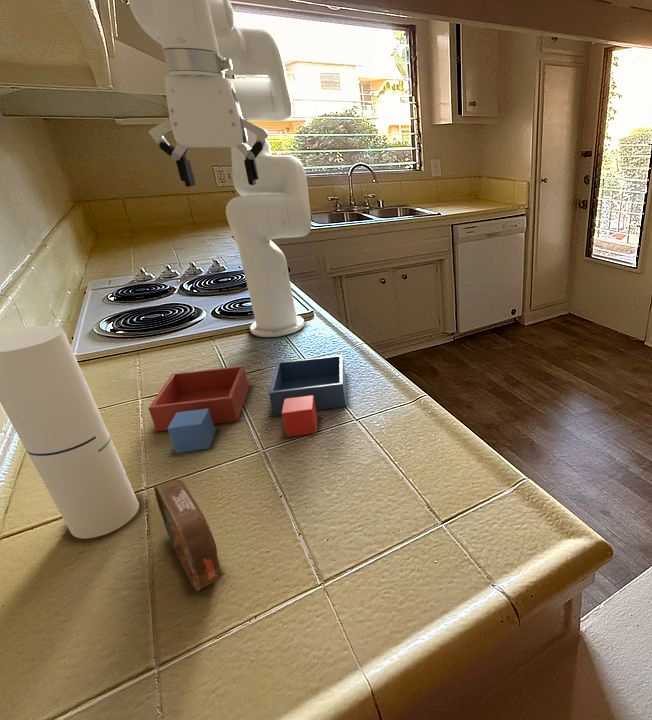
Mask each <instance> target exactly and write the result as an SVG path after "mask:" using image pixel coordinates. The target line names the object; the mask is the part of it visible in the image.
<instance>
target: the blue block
mask: <svg viewBox="0 0 652 720" xmlns="http://www.w3.org/2000/svg"><path fill="white" fill-rule="evenodd" d="M167 429H168V430H167V432H168V435H169V437H170V440H171V443H172V445H173V448H174V451H175V454H180V453H181V454H182V453H188V452H193V451H195V452H196V451H200V450H201V451H202V450H209V449H210V447H211V445H212V442H213V440H214V437H215V435H216V432H217V431H216V428H215V424H213V421H212V418H211V415H210V411H209V408H208V409H200V410H192V411H184V412H177V413H176V414H175V416H174V418H173V420H172V421H171V423H170V425H169V426H168V428H167Z"/></svg>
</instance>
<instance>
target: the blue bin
mask: <svg viewBox="0 0 652 720" xmlns="http://www.w3.org/2000/svg"><path fill="white" fill-rule="evenodd" d="M345 368H346V367H345V362H344V356H343V354H340V355H330V356H321V357H313V358H311V357H310V358H304V359H303V358H301V359H295V360H294V359H293V360H284V361H277V362H276V365H275V368H274V372H273V376H272V379H271V382H270V386H269V390H268V398H269V401H270V405H271V410H272V415H273V416H274V417H277V416H282V409H283V404H284V399H287V398H295V397H303V396H311V395H313V396H314V401H315V406H316V411H320V410H327V409H334V408H342V407H347V384H346V382H347V381H346V380H347V379H346V376H347V375H346V369H345Z"/></svg>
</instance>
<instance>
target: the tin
mask: <svg viewBox="0 0 652 720" xmlns="http://www.w3.org/2000/svg"><path fill="white" fill-rule="evenodd" d="M153 490H154V495H155V499H156V503H157V505H158V508H159V512H160V515H161V518H162V521H163V524H164V528H165V530H166V533H167V535H168V537H169V540H170V542H171V544H172V547H173V549H174V551H175V552H176V555H177V557H178V559H179V561H180V562H181V565H182V567H183V569H184V572H185V573H186V575H187V577H188V580H189V581H190V583H191V585H192V587H193V589H194V590H195V591H196V592H199V591H201V590H202V589H203V588H205V587H207V586H209V585H211V584H213V583H215V582H217V581H219V580H220V579H221V578H222V577H223V575H224V573H223V570H222V567H221V566H220V562H219V556H218V548H217V544H216V540H215V537H214V535H213V532H212V530H211V527H210V526H209V523H208V521H207V519H206V517H205V515H204V514H203V512H202V510H201V508H200V507H199V505H198V503H197V502H196V500H195V499H194V496H193V495H192V493H191V491H190V490H189V488H188V487H187V485H186V484H185V482H184V481H183V480H181V478H180V479H179V478H177V479H173V480H170V481H168V482H165V483H162V484H160V485H155V486H153Z"/></svg>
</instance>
